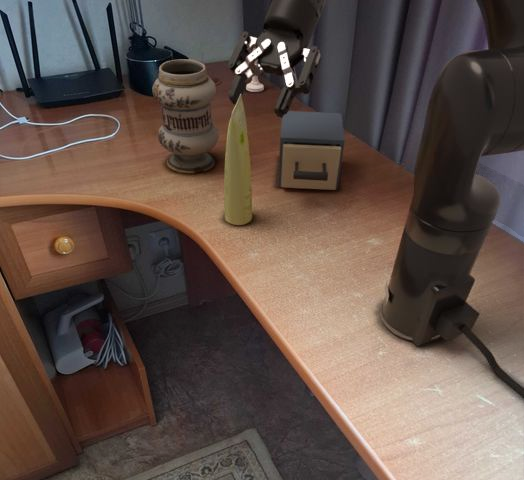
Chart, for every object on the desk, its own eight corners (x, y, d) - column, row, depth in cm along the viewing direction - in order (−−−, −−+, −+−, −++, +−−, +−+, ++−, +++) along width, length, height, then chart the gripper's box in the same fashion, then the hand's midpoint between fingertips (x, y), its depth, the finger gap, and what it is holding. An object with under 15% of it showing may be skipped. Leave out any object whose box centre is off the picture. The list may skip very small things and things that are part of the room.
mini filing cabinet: (337, 190, 91) (344, 140, 84) (278, 187, 92) (280, 137, 84) (335, 160, 100) (341, 113, 93) (280, 157, 100) (282, 110, 93)
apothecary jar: (177, 182, 92) (165, 81, 79) (152, 158, 99) (137, 61, 86) (230, 167, 97) (227, 70, 84) (203, 145, 104) (196, 52, 90)
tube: (259, 222, 83) (261, 105, 69) (235, 230, 81) (231, 112, 67) (242, 207, 86) (241, 93, 72) (218, 215, 84) (212, 99, 70)
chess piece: (257, 93, 126) (257, 50, 118) (242, 89, 127) (241, 47, 120) (267, 88, 129) (268, 45, 121) (252, 84, 130) (252, 42, 123)
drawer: (336, 204, 86) (342, 162, 80) (279, 201, 86) (281, 159, 80) (333, 162, 97) (338, 123, 91) (283, 159, 98) (285, 121, 92)
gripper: (249, -19, 71) (207, 85, 73) (332, -6, 66) (285, 106, 68) (267, 16, 78) (229, 110, 80) (344, 30, 73) (301, 131, 75)
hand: (255, 108), depth 74 cm, fingers open, 8 cm apart
